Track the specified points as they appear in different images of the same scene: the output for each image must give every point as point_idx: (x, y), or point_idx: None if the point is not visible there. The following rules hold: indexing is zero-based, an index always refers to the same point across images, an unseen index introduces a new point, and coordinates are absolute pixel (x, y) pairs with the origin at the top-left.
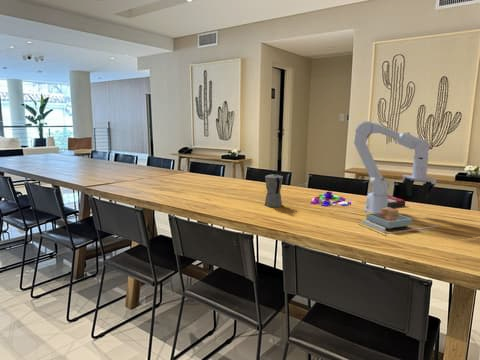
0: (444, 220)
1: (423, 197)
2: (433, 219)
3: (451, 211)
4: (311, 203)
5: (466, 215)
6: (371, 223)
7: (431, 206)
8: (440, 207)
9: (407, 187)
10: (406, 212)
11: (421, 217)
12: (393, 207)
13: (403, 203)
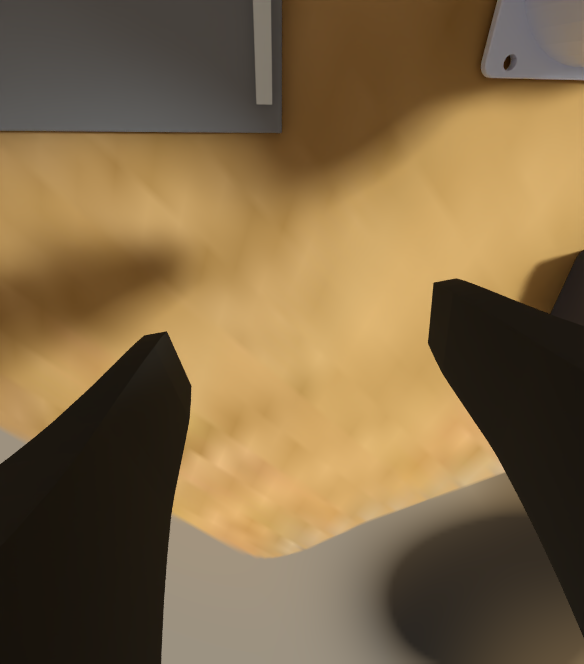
0: None
1: (152, 343)
2: (187, 316)
3: (301, 502)
4: None
5: (217, 509)
6: None
7: (414, 489)
8: (378, 507)
9: (570, 353)
10: (420, 280)
11: (261, 276)
12: (563, 291)
13: None
